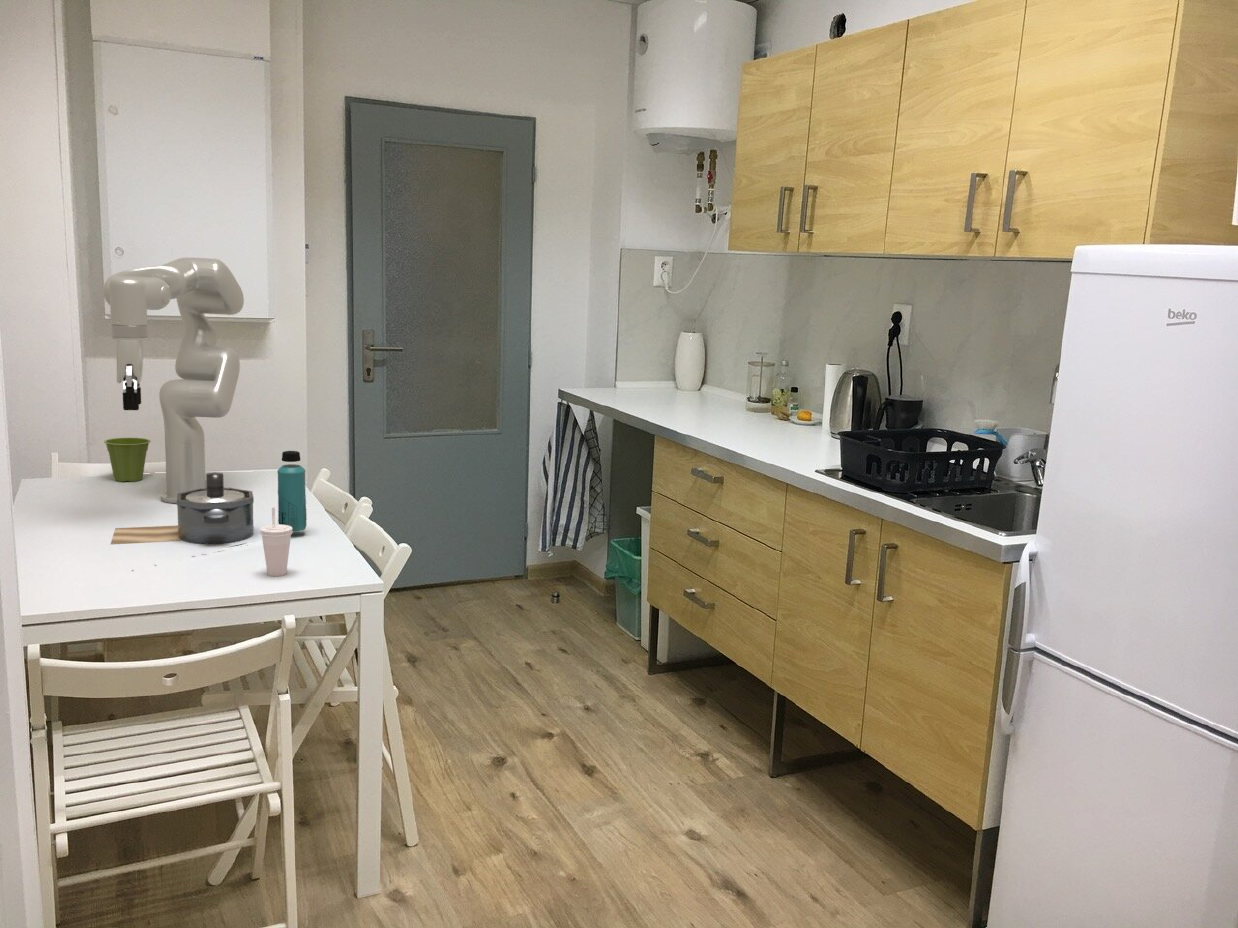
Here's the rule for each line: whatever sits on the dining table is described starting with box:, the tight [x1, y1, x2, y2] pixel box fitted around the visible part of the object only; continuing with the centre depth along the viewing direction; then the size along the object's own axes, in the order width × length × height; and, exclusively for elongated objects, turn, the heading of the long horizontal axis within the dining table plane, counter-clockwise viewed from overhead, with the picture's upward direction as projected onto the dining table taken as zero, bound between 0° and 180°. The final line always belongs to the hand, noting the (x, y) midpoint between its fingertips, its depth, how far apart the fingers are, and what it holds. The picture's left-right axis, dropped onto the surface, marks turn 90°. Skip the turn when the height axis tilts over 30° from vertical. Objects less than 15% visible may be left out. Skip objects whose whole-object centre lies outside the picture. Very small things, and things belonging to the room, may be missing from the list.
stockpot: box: [176, 487, 255, 548], centre depth 232 cm, size 21×16×10 cm
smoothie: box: [259, 506, 294, 577], centre depth 209 cm, size 6×6×14 cm
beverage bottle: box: [277, 450, 308, 533], centre depth 238 cm, size 6×7×20 cm
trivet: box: [110, 525, 182, 545], centre depth 230 cm, size 14×14×1 cm
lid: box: [186, 472, 244, 503], centre depth 231 cm, size 12×12×6 cm
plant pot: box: [103, 437, 151, 483], centre depth 287 cm, size 12×12×11 cm
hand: (132, 407), depth 236 cm, fingers open, 9 cm apart
